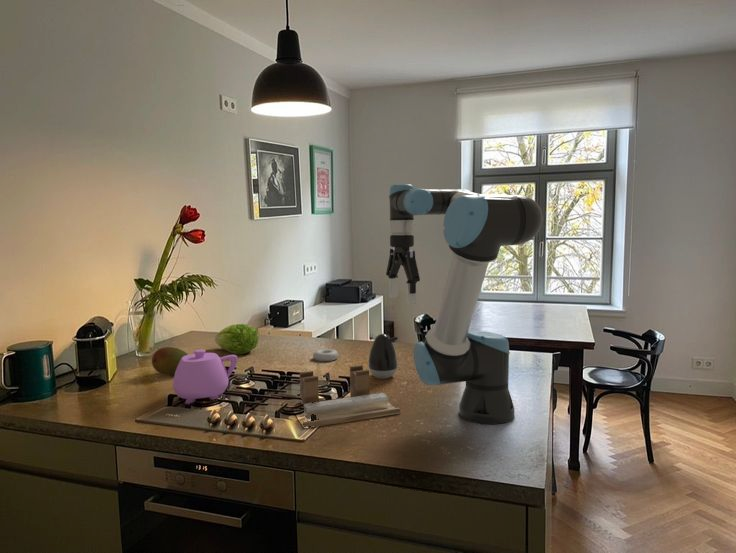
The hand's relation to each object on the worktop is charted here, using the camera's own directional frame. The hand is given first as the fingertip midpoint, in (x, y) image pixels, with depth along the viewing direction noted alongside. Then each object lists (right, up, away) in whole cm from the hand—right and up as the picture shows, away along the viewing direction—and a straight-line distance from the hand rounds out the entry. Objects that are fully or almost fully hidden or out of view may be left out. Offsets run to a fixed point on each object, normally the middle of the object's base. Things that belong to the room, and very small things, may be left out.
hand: (402, 300), depth 168 cm
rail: (-17, -31, -18) cm, 40 cm away
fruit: (-82, -28, +23) cm, 90 cm away
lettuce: (-67, -24, +54) cm, 90 cm away
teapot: (-62, -30, 0) cm, 69 cm away
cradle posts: (-21, -30, -8) cm, 38 cm away
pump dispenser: (-6, -27, +16) cm, 32 cm away
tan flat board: (-17, -31, -18) cm, 40 cm away
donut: (-28, -25, +40) cm, 55 cm away
